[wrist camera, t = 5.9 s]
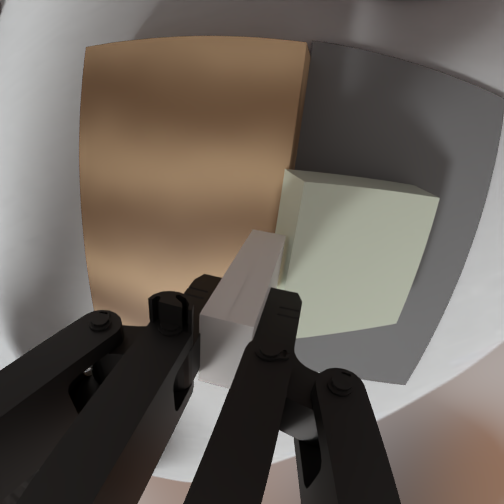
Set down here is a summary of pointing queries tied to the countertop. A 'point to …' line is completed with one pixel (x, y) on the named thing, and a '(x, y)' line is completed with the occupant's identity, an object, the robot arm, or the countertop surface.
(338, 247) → the coaster
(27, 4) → the countertop surface
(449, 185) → the mat
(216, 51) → the plate
